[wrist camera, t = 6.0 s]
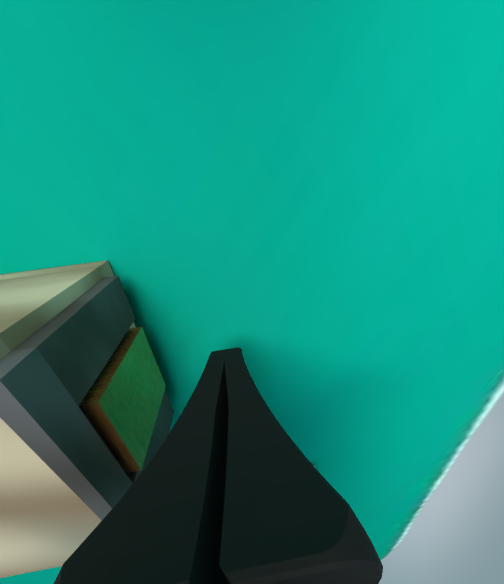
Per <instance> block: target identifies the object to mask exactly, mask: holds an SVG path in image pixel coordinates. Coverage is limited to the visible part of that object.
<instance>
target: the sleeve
mask: <svg viewBox="0 0 504 584" xmlns="http://www.w3.org/2000/svg"><path fill="white" fill-rule="evenodd" d="M135 319H136V318H135V316H134V313H133V311H132V308H131V306H130V303H129V301H128V299H127V296H126V294H125V291H124V289H123V286H122V284H121V282H120V279H119V277H118V276H114V274H113V272H112V269H111V267H110V264H109V262H108V261H101V262H93V263H86V264H78V265H70V266H63V267H55V268H48V269H40V270H33V271H25V272H18V273H10V274H2V275H0V578H2V577H8V576H13V575H18V574H23V573H28V572H33V571H38V570H43V569H48V568H53V567H59V566H62V565H63V564H64V562H65V561H66V560H67V559H68V558H69V557H70V556H71V555H72V554H73V552H74V551H75V550H76V549H77V548H78V547H79V546H80V545H81V543H82V542H83V541H84V540H85V539H86V538H87V537H88V536H89V534H90V533H91V532H92V531H93V530H94V529H95V528H96V527H97V525H98V524H99V523H100V522H101V521H102V520H103V519H104V518H105V516H106V515H107V514H108V513H109V512H110V511H111V509H112V508H113V507H114V506H115V505H116V503H117V502H118V501H119V500H120V498H121V497H122V496H123V495H124V494H125V492H126V491H127V490H128V489H129V487H130V486H131V485H132V484H133V482H134V481H135V480H136V479H137V477H138V476H139V475H140V474H141V472H142V471H143V470H144V468H145V467H146V466H147V464H148V463H149V462H150V460H151V459H152V458H153V456H154V455H155V453H156V452H157V450H158V449H159V448H160V446H161V445H162V443H163V442H164V441H165V439H166V438H167V436H168V435H169V430H170V426H171V421H172V417H173V412H174V410H173V408H172V405H171V403H170V401H169V398H168V396H167V393H166V391H164V394H163V398H162V401H161V405H160V408H159V412H158V415H157V419H156V422H155V425H154V429H153V432H152V436H151V439H150V443H149V446H148V450H147V453H146V457H145V460H144V463H143V467H142V470H140V471H135V472H129V473H125V472H124V470H123V469H122V468H121V466H120V465H119V463H118V462H117V461H116V459H115V458H114V456H113V455H112V453H111V452H110V451H109V449H108V448H107V446H106V445H105V444H104V442H103V441H102V439H101V438H100V436H99V435H98V434H97V432H96V431H95V429H94V428H93V427H92V425H91V424H90V422H89V421H88V419H87V418H86V417H85V415H84V414H83V412H82V411H81V410H80V408H79V407H78V406H79V404H80V403H81V401H82V400H83V398H84V397H85V395H86V394H87V392H88V391H89V389H90V388H91V386H92V385H93V383H94V382H95V380H96V378H97V377H98V375H99V374H100V372H101V371H102V369H103V368H104V366H105V365H106V363H107V362H108V360H109V359H110V357H111V356H112V354H113V352H114V351H115V349H116V348H117V346H118V345H119V343H120V342H121V340H122V339H123V337H124V336H125V334H126V333H127V331H128V330H129V328H135V327H136V326H135V324H134V320H135Z"/></svg>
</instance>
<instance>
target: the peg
mask: <svg viewBox="0 0 504 584" xmlns="http://www.w3.org/2000/svg"><path fill="white" fill-rule="evenodd" d="M165 388H166V385H165V382H164V380H163V377H162V375H161V372H160V370H159V367H158V365H157V362H156V360H155V357H154V355H153V352H152V350H151V348H150V345H149V343H148V340H147V338H146V335H145V333H144V330H143V328H142V327H135V328H129V330H128V331H127V333H126V334H125V336H124V337H123V339H122V340H121V342H120V343H119V345H118V346H117V348H116V349H115V351H114V352H113V354H112V356H111V357H110V359H109V360H108V362H107V363H106V365H105V366H104V368H103V369H102V371H101V372H100V374H99V375H98V377H97V378H96V380H95V382H94V383H93V385H92V386H91V388H90V389H89V391H88V392H87V394H86V395H85V397H84V398H83V400H82V401H81V403H80V404H79V406H78V407H79V408H80V410H81V411H82V412H83V414H84V415H85V417H86V418H87V419H88V421H89V422H90V424H91V425H92V427H93V428H94V429H95V431H96V432H97V434H98V435H99V436H100V438H101V439H102V441H103V442H104V444H105V445H106V446H107V448H108V449H109V451H110V452H111V453H112V455H113V456H114V458H115V459H116V461H117V462H118V463H119V465H120V466H121V468H122V469H123V470H124V472H125V473H129V472H135V471H140V470H142V467H143V463H144V460H145V457H146V453H147V450H148V446H149V443H150V439H151V436H152V432H153V429H154V425H155V422H156V419H157V415H158V412H159V408H160V405H161V401H162V398H163V394H164V391H165Z"/></svg>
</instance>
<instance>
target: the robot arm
mask: <svg viewBox="0 0 504 584" xmlns="http://www.w3.org/2000/svg"><path fill="white" fill-rule="evenodd" d="M382 570H383V566H382V563H381V561H380V559H379V556H378V554H377V552H376V550H375V548H374V546H373V544H372V542H371V540H370V538H369V537H368V535H367V533H366V531H365V530H364V528H363V526H362V525H361V523H360V521H359V520H358V518H357V517H356V515H355V514H354V512H353V510H352V509H351V507H350V506H349V504H348V503H347V502H346V501H345V500H344V499H343V498H342V496H341V495H340V494H339V493H338V492H337V491H336V490H335V489H334V488H333V487H332V486H331V485H330V484H329V483H328V482H327V481H326V479H325V478H324V477H323V476H322V475H321V474H320V473H319V472H318V471H317V469H316V467H315V466H314V465H312V464H311V463H310V461H309V460H308V459H307V458H306V457H305V456H304V454H303V453H302V452H301V451H300V449H299V448H298V447H297V446H296V444H295V443H294V442H293V441H292V440H291V438H290V437H289V436H288V435H287V433H286V432H285V431H284V429H283V428H282V426H281V425H280V424H279V422H278V421H277V420H276V418H275V417H274V415H273V414H272V412H271V411H270V409H269V408H268V406H267V405H266V403H265V401H264V400H263V398H262V396H261V395H260V393H259V391H258V389H257V388H256V386H255V384H254V382H253V380H252V378H251V376H250V374H249V372H248V369H247V367H246V364H245V362H244V359H243V355H242V349H241V348H239V347H238V348H232V349H226V350H220V351H214V352H212V353H211V354H210V356H209V359H208V361H207V364H206V366H205V369H204V371H203V373H202V376H201V378H200V380H199V382H198V384H197V386H196V388H195V390H194V392H193V394H192V396H191V398H190V399H189V401H188V403H187V405H186V407H185V408H184V410H183V412H182V414H181V415H180V417H179V419H178V420H177V422H176V424H175V425H174V427H173V428H172V430H171V431H170V433H169V435H168V436H167V438H166V439H165V441H164V442H163V443H162V445H161V446H160V448H159V449H158V450H157V452H156V453H155V455H154V456H153V458H152V459H151V460H150V462H149V463H148V464H147V466H146V467H145V468H144V470H143V471H142V472H141V474H140V475H139V476H138V477H137V479H136V480H135V481H134V482H133V484H132V485H131V486H130V487H129V489H128V490H127V491H126V492H125V494H124V495H123V496H122V497H121V498H120V500H119V501H118V502H117V503H116V505H115V506H114V507H113V508H112V509H111V511H110V512H109V513H108V514H107V515H106V516H105V518H104V519H103V520H102V521H101V522H100V523H99V524H98V525H97V527H96V528H95V529H94V530H93V531H92V532H91V533H90V534H89V536H88V537H87V538H86V539H85V540H84V541H83V542H82V543H81V545H80V546H79V547H78V548H77V549H76V550H75V551H74V552H73V554H72V555H71V556H70V557H69V558H68V559H67V560H66V561H65V562H64V564H63V565H62V568H61V570H60V572H59V574H58V576H57V578H56V580H55V582H54V584H378V583H379V581H380V579H381V577H382V572H383V571H382Z"/></svg>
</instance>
